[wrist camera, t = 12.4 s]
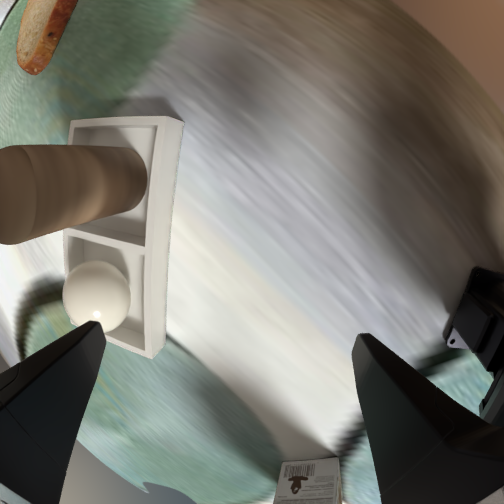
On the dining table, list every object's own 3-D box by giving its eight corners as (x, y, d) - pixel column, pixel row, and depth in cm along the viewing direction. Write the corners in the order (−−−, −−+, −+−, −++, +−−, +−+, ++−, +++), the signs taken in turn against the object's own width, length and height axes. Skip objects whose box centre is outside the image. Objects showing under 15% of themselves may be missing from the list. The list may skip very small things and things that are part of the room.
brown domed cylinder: (151, 148, 19) (-5, 143, 7) (144, 216, 20) (-2, 267, 8) (100, 147, 19) (-39, 151, 8) (96, 208, 21) (-37, 245, 9)
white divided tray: (184, 122, 18) (167, 116, 16) (165, 344, 23) (151, 359, 21) (91, 123, 20) (70, 120, 17) (87, 313, 25) (71, 323, 22)
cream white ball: (145, 260, 21) (98, 285, 16) (144, 323, 23) (105, 357, 17) (92, 246, 22) (45, 264, 17) (95, 304, 24) (54, 330, 18)
